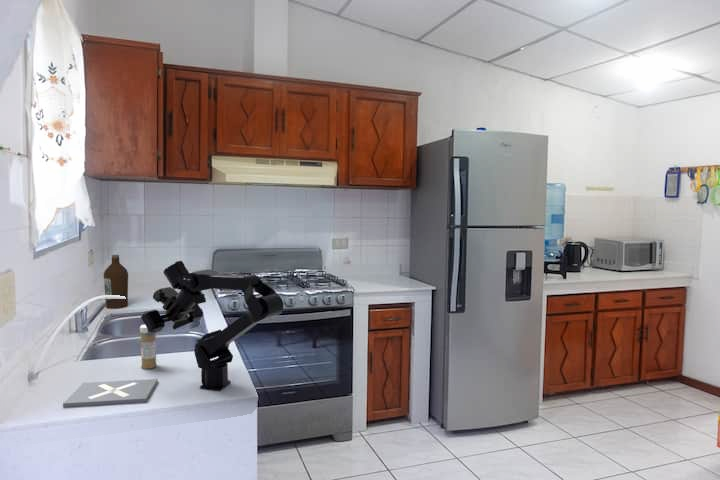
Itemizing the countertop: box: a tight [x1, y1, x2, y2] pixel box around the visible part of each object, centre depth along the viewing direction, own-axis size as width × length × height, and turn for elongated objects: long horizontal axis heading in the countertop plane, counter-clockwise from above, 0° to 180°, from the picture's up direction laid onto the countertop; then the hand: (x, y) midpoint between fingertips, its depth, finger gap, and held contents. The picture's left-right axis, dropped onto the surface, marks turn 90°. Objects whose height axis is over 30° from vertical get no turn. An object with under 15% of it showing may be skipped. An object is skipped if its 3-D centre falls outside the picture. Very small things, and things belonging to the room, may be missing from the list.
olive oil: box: [103, 254, 129, 310], centre depth 236 cm, size 11×11×25 cm
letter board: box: [62, 378, 159, 408], centre depth 134 cm, size 20×14×1 cm
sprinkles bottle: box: [139, 324, 157, 370], centre depth 155 cm, size 5×5×14 cm
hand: (161, 331), depth 151 cm, fingers open, 9 cm apart
